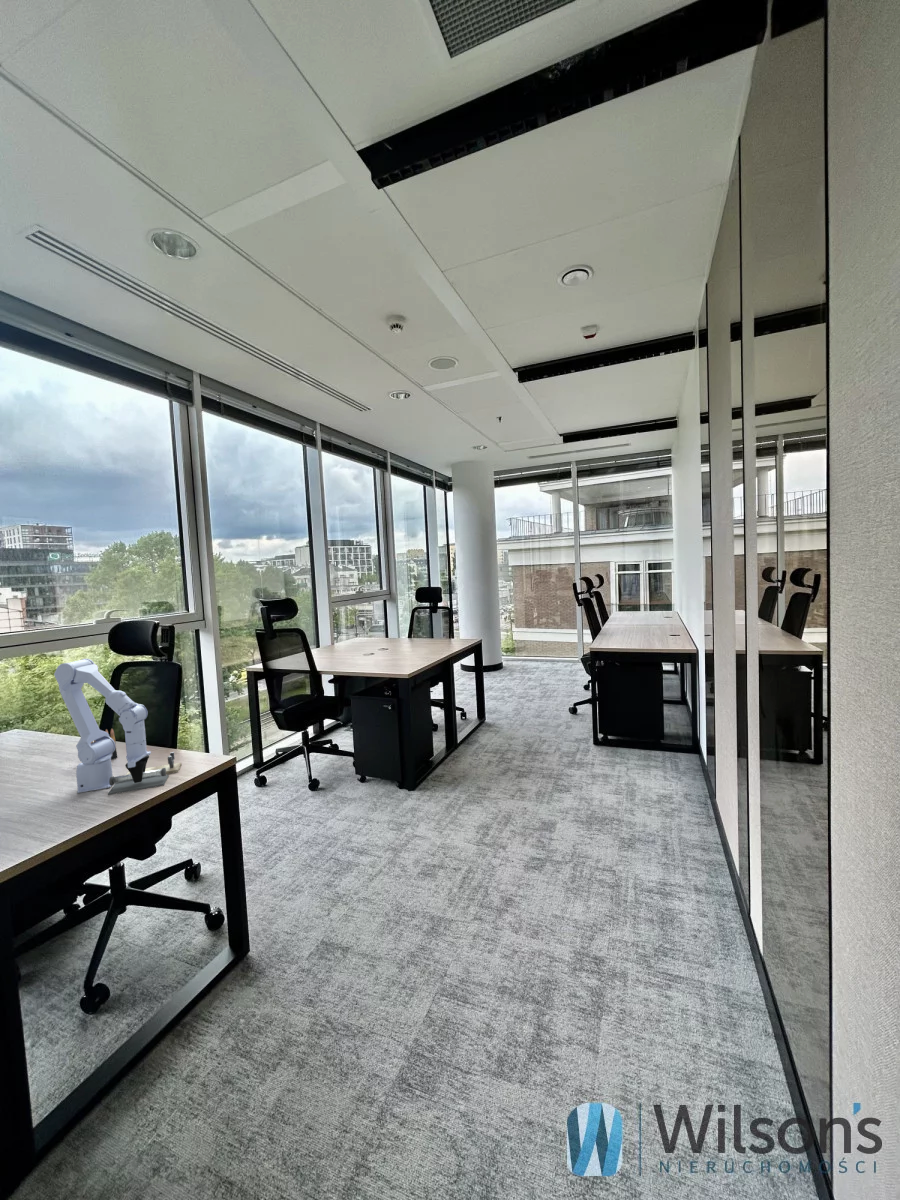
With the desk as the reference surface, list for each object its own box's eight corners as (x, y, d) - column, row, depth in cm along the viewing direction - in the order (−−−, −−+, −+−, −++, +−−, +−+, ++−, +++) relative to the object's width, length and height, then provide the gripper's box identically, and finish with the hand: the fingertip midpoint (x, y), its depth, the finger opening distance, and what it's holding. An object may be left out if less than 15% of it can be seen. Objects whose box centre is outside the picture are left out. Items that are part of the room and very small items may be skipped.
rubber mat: (108, 795, 155) (107, 793, 155) (115, 785, 162) (115, 783, 162) (163, 785, 161) (163, 783, 161) (168, 776, 168) (168, 774, 168)
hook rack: (123, 781, 165) (121, 765, 165) (128, 773, 172) (127, 758, 172) (178, 772, 171) (176, 756, 171) (181, 765, 178) (180, 750, 177)
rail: (109, 787, 157) (108, 779, 157) (112, 783, 160) (111, 775, 160) (164, 777, 163) (163, 769, 163) (166, 773, 166) (165, 766, 165)
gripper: (143, 746, 155) (147, 786, 156) (154, 733, 169) (157, 770, 170) (118, 750, 153) (122, 791, 154) (131, 736, 166) (134, 773, 167)
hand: (139, 780), depth 161 cm, fingers closed on rail, 2 cm apart
